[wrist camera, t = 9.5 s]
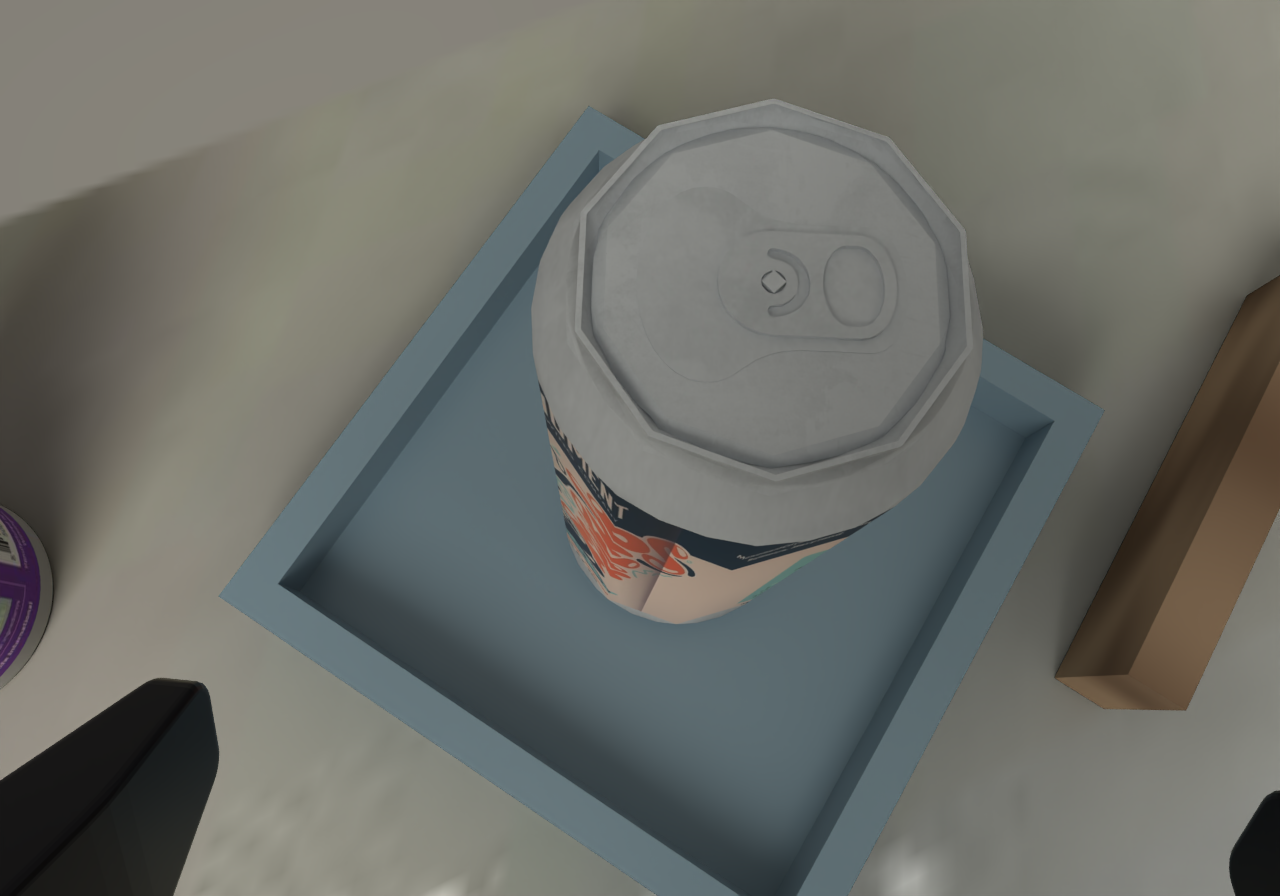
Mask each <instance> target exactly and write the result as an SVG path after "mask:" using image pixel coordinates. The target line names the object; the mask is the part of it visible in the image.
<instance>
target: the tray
mask: <svg viewBox="0 0 1280 896" xmlns="http://www.w3.org/2000/svg"><path fill="white" fill-rule="evenodd" d="M642 140H644V138H642V137H641V136H639V135H637V134H636V133H634V132H632V131H631V130H629V129H627V128H625V127H624V126H622V125H620V124H619V123H617V122H615V121H614V120H612V119H610V118H608V117H607V116H605V115H603V114H602V113H600V112H598V111H597V110H595V109H593V108H592V107H590V106H588V108H587V109H586V110H585V111H584V113H583V114H582V115H581V117H580V118H579V119H578V121H577V122H576V123H575V125H574V126H573V127H572V129H571V130H570V131H569V133H568V134H567V135H566V137H565V138H564V139H563V141H562V142H561V143H560V145H559V146H558V147H557V149H556V150H555V151H554V153H553V154H552V155H551V157H550V158H549V159H548V160H547V162H546V163H545V164H544V166H543V167H542V168H541V170H540V171H539V172H538V174H537V175H536V176H535V178H534V179H533V180H532V182H531V183H530V184H529V186H528V187H527V188H526V190H525V191H524V192H523V194H522V195H521V196H520V198H519V199H518V200H517V202H516V203H515V204H514V206H513V207H512V208H511V209H510V211H509V212H508V213H507V215H506V216H505V217H504V219H503V220H502V221H501V223H500V224H499V225H498V227H497V228H496V229H495V231H494V232H493V233H492V235H491V236H490V237H489V239H488V240H487V241H486V243H485V244H484V245H483V247H482V248H481V249H480V251H479V252H478V253H477V255H476V256H475V257H474V258H473V260H472V261H471V262H470V264H469V265H468V266H467V268H466V269H465V270H464V272H463V273H462V274H461V276H460V277H459V278H458V280H457V281H456V282H455V284H454V285H453V286H452V288H451V289H450V290H449V292H448V293H447V294H446V296H445V297H444V298H443V300H442V301H441V302H440V304H439V305H438V306H437V307H436V309H435V310H434V311H433V313H432V314H431V315H430V317H429V318H428V319H427V321H426V322H425V323H424V325H423V326H422V327H421V329H420V330H419V331H418V333H417V334H416V335H415V337H414V338H413V339H412V341H411V342H410V343H409V345H408V346H407V347H406V349H405V350H404V351H403V352H402V354H401V355H400V356H399V358H398V359H397V360H396V362H395V363H394V364H393V366H392V367H391V368H390V370H389V371H388V372H387V374H386V375H385V376H384V378H383V379H382V380H381V382H380V383H379V384H378V386H377V387H376V388H375V390H374V391H373V392H372V394H371V395H370V396H369V398H368V399H367V400H366V401H365V403H364V404H363V405H362V407H361V408H360V409H359V411H358V412H357V413H356V415H355V416H354V417H353V419H352V420H351V421H350V423H349V424H348V425H347V427H346V428H345V429H344V431H343V432H342V433H341V435H340V436H339V437H338V439H337V440H336V441H335V443H334V444H333V445H332V447H331V448H330V449H329V450H328V452H327V453H326V454H325V456H324V457H323V458H322V460H321V461H320V462H319V464H318V465H317V466H316V468H315V469H314V470H313V472H312V473H311V474H310V476H309V477H308V478H307V480H306V481H305V482H304V484H303V485H302V486H301V488H300V489H299V490H298V492H297V493H296V494H295V496H294V497H293V498H292V499H291V501H290V502H289V503H288V505H287V506H286V507H285V509H284V510H283V511H282V513H281V514H280V515H279V517H278V518H277V519H276V521H275V522H274V523H273V525H272V526H271V527H270V529H269V530H268V531H267V533H266V534H265V535H264V537H263V538H262V539H261V541H260V542H259V543H258V545H257V546H256V547H255V548H254V550H253V551H252V552H251V554H250V555H249V556H248V558H247V559H246V560H245V562H244V563H243V564H242V566H241V567H240V568H239V570H238V571H237V572H236V574H235V575H234V576H233V578H232V579H231V580H230V582H229V583H228V584H227V586H226V587H225V588H224V590H223V591H222V592H221V594H220V595H219V597H220V598H222V599H223V600H225V601H226V602H228V603H229V604H231V605H232V606H234V607H235V608H236V609H238V610H239V611H241V612H242V613H244V614H245V615H247V616H248V617H250V618H251V619H253V620H254V621H256V622H257V623H258V624H260V625H261V626H263V627H264V628H266V629H267V630H269V631H270V632H272V633H273V634H275V635H276V636H277V637H279V638H280V639H282V640H283V641H285V642H286V643H288V644H289V645H291V646H292V647H294V648H295V649H297V650H298V651H299V652H301V653H302V654H304V655H305V656H307V657H308V658H310V659H311V660H313V661H314V662H316V663H317V664H319V665H320V666H321V667H323V668H324V669H326V670H327V671H329V672H330V673H332V674H333V675H335V676H336V677H338V678H339V679H341V680H342V681H343V682H345V683H346V684H348V685H349V686H351V687H352V688H354V689H355V690H357V691H358V692H360V693H361V694H363V695H364V696H365V697H367V698H368V699H370V700H371V701H373V702H374V703H376V704H377V705H379V706H380V707H382V708H383V709H385V710H386V711H387V712H389V713H390V714H392V715H393V716H395V717H396V718H398V719H399V720H401V721H402V722H404V723H405V724H407V725H408V726H409V727H411V728H412V729H414V730H415V731H417V732H418V733H420V734H421V735H423V736H424V737H426V738H427V739H429V740H430V741H431V742H433V743H434V744H436V745H437V746H439V747H440V748H442V749H443V750H445V751H446V752H448V753H449V754H450V755H452V756H453V757H455V758H456V759H458V760H459V761H461V762H462V763H464V764H465V765H467V766H468V767H470V768H471V769H472V770H474V771H475V772H477V773H478V774H480V775H481V776H483V777H484V778H486V779H487V780H489V781H490V782H492V783H493V784H494V785H496V786H497V787H499V788H500V789H502V790H503V791H505V792H506V793H508V794H509V795H511V796H512V797H514V798H515V799H516V800H518V801H519V802H521V803H522V804H524V805H525V806H527V807H528V808H530V809H531V810H533V811H534V812H536V813H537V814H538V815H540V816H541V817H543V818H544V819H546V820H547V821H549V822H550V823H552V824H553V825H555V826H556V827H558V828H559V829H560V830H562V831H563V832H565V833H566V834H568V835H569V836H571V837H572V838H574V839H575V840H577V841H578V842H580V843H581V844H582V845H584V846H585V847H587V848H588V849H590V850H591V851H593V852H594V853H596V854H597V855H599V856H600V857H602V858H603V859H604V860H606V861H607V862H609V863H610V864H612V865H613V866H615V867H616V868H618V869H619V870H621V871H622V872H623V873H625V874H626V875H628V876H629V877H631V878H632V879H634V880H635V881H637V882H638V883H640V884H641V885H643V886H644V887H645V888H647V889H648V890H650V891H651V892H653V893H654V894H656V895H657V896H848V894H849V892H850V890H851V888H852V887H853V885H854V883H855V881H856V879H857V877H858V875H859V873H860V871H861V870H862V868H863V866H864V864H865V862H866V860H867V858H868V856H869V854H870V853H871V851H872V849H873V847H874V845H875V843H876V841H877V839H878V837H879V836H880V834H881V832H882V830H883V828H884V826H885V824H886V822H887V820H888V819H889V817H890V815H891V813H892V811H893V809H894V807H895V805H896V804H897V802H898V800H899V798H900V796H901V794H902V792H903V790H904V788H905V787H906V785H907V783H908V781H909V779H910V777H911V775H912V773H913V771H914V770H915V768H916V766H917V764H918V762H919V760H920V758H921V756H922V754H923V753H924V751H925V749H926V747H927V745H928V743H929V741H930V739H931V737H932V736H933V734H934V732H935V730H936V728H937V726H938V724H939V722H940V720H941V719H942V717H943V715H944V713H945V711H946V709H947V707H948V705H949V703H950V702H951V700H952V698H953V696H954V694H955V692H956V690H957V688H958V686H959V685H960V683H961V681H962V679H963V677H964V675H965V673H966V671H967V669H968V668H969V666H970V664H971V662H972V660H973V658H974V656H975V654H976V652H977V651H978V649H979V647H980V645H981V643H982V641H983V639H984V637H985V635H986V634H987V632H988V630H989V628H990V626H991V624H992V622H993V620H994V618H995V617H996V615H997V613H998V611H999V609H1000V607H1001V605H1002V603H1003V601H1004V600H1005V598H1006V596H1007V594H1008V592H1009V590H1010V588H1011V586H1012V585H1013V583H1014V581H1015V579H1016V577H1017V575H1018V573H1019V571H1020V569H1021V568H1022V566H1023V564H1024V562H1025V560H1026V558H1027V556H1028V554H1029V552H1030V551H1031V549H1032V547H1033V545H1034V543H1035V541H1036V539H1037V537H1038V535H1039V534H1040V532H1041V530H1042V528H1043V526H1044V524H1045V522H1046V520H1047V518H1048V517H1049V515H1050V513H1051V511H1052V509H1053V507H1054V505H1055V503H1056V501H1057V500H1058V498H1059V496H1060V494H1061V492H1062V490H1063V488H1064V486H1065V484H1066V483H1067V481H1068V479H1069V477H1070V475H1071V473H1072V471H1073V469H1074V467H1075V466H1076V464H1077V462H1078V460H1079V458H1080V456H1081V454H1082V452H1083V450H1084V449H1085V447H1086V445H1087V443H1088V441H1089V439H1090V437H1091V435H1092V433H1093V432H1094V430H1095V428H1096V426H1097V424H1098V422H1099V420H1100V418H1101V416H1102V415H1103V413H1104V411H1105V410H1104V409H1102V408H1100V407H1098V406H1097V405H1095V404H1093V403H1092V402H1090V401H1088V400H1087V399H1085V398H1083V397H1081V396H1080V395H1078V394H1076V393H1075V392H1073V391H1071V390H1070V389H1068V388H1066V387H1065V386H1063V385H1061V384H1059V383H1058V382H1056V381H1054V380H1053V379H1051V378H1049V377H1048V376H1046V375H1044V374H1042V373H1041V372H1039V371H1037V370H1036V369H1034V368H1032V367H1031V366H1029V365H1027V364H1026V363H1024V362H1022V361H1020V360H1019V359H1017V358H1015V357H1014V356H1012V355H1010V354H1009V353H1007V352H1005V351H1003V350H1002V349H1000V348H998V347H997V346H995V345H993V344H992V343H990V342H988V341H987V340H985V339H983V345H982V364H981V372H980V376H979V380H978V383H977V387H976V391H975V394H974V397H973V400H972V403H971V406H970V409H969V412H968V415H967V418H966V421H965V424H964V426H963V428H962V430H961V431H960V433H959V435H958V437H957V439H956V441H955V443H954V444H953V445H952V446H951V448H950V449H949V450H948V451H947V453H946V454H945V455H944V456H943V458H942V459H941V460H940V461H939V463H938V464H937V465H936V467H935V468H934V469H933V470H932V472H931V473H930V474H929V475H928V477H927V478H926V479H925V480H924V482H923V483H922V484H921V485H920V486H919V487H918V488H917V489H915V490H914V491H913V492H912V493H911V494H909V495H908V496H907V497H906V498H905V499H903V500H902V501H901V502H900V503H898V504H897V505H896V506H895V507H893V508H892V509H890V510H889V511H887V512H886V513H884V514H883V515H881V516H880V517H878V518H877V519H875V520H873V521H872V522H870V523H869V524H867V525H866V526H864V527H863V528H861V529H860V530H858V531H857V532H855V533H854V534H852V535H850V536H849V537H847V538H846V539H844V540H843V541H841V542H840V543H838V544H837V545H835V546H834V547H832V548H831V549H829V550H827V551H826V552H824V553H823V554H821V555H820V556H818V557H817V558H815V559H814V560H812V561H811V562H809V563H808V564H806V565H804V566H803V567H801V568H800V569H798V570H797V571H795V572H794V573H792V574H791V575H789V576H788V577H786V578H785V579H783V580H781V581H780V582H778V583H777V584H775V585H774V586H772V587H771V588H769V589H768V590H766V591H765V592H763V593H762V594H760V595H758V596H757V597H755V598H754V599H752V600H751V601H749V602H748V603H746V604H745V605H743V606H741V607H739V608H737V609H735V610H733V611H731V612H729V613H727V614H725V615H723V616H721V617H718V618H714V619H710V620H706V621H702V622H698V623H690V624H670V623H662V622H655V621H652V620H649V619H646V618H643V617H640V616H637V615H634V614H632V613H630V612H628V611H626V610H625V609H623V608H621V607H620V606H618V605H616V604H615V603H613V602H611V601H610V600H608V599H607V598H606V597H605V596H604V595H603V594H602V593H601V592H600V591H598V590H597V589H596V587H595V586H594V585H593V583H592V582H591V581H590V579H589V578H588V577H587V575H586V574H585V573H584V571H583V570H582V569H581V567H580V566H579V564H578V562H577V560H576V558H575V555H574V553H573V551H572V549H571V546H570V544H569V541H568V536H567V531H566V526H565V521H564V515H563V510H562V505H561V499H560V494H559V489H558V483H557V478H556V473H555V468H554V462H553V457H552V452H551V446H550V441H549V436H548V430H547V425H546V420H545V414H544V409H543V404H542V399H541V393H540V388H539V383H538V377H537V372H536V367H535V362H534V357H533V344H532V315H531V307H532V301H533V296H534V291H535V285H536V280H537V275H538V269H539V264H540V260H541V258H542V256H543V253H544V251H545V249H546V247H547V245H548V243H549V240H550V238H551V236H552V234H553V232H554V230H555V227H556V225H557V223H558V221H559V219H560V217H561V215H562V214H563V213H564V211H565V210H566V209H567V207H568V206H569V205H570V204H571V202H572V201H573V200H574V199H575V198H576V197H577V196H578V195H579V194H580V193H581V191H582V190H583V189H584V188H585V187H586V186H587V185H588V184H589V183H590V182H591V180H592V179H593V178H594V177H595V176H596V175H597V174H598V173H599V172H600V171H601V169H602V168H603V167H604V166H606V165H607V164H609V163H610V162H611V161H613V160H614V159H616V158H617V157H618V156H620V155H621V154H623V153H624V152H625V151H627V150H628V149H630V148H631V147H632V146H634V145H636V144H637V143H639V142H641V141H642Z"/></svg>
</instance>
